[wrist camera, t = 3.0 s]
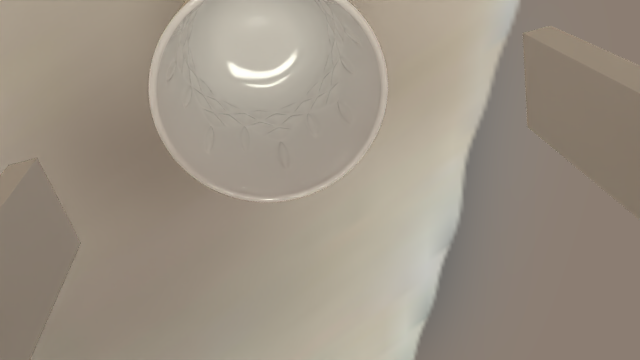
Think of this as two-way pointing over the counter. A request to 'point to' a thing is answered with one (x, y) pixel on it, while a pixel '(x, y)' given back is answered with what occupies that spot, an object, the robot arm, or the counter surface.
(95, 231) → the counter surface
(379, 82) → the white cup
